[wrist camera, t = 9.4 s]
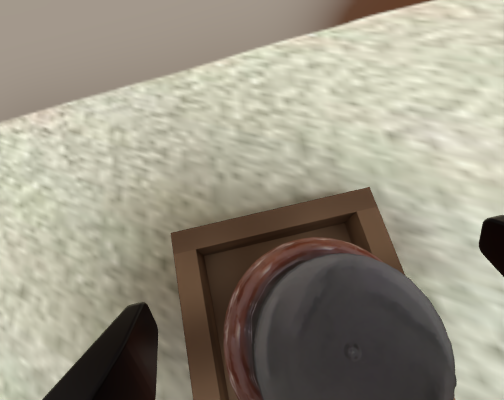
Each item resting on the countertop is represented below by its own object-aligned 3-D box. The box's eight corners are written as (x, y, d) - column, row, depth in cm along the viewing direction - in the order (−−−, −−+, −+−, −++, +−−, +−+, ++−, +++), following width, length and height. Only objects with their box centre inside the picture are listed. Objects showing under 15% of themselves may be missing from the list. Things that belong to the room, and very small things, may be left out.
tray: (427, 401, 15) (465, 424, 12) (217, 458, 15) (206, 495, 12) (353, 204, 19) (369, 187, 16) (184, 243, 19) (170, 233, 16)
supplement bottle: (227, 362, 16) (153, 491, 5) (253, 255, 18) (240, 182, 7) (338, 394, 15) (525, 621, 4) (352, 279, 17) (507, 239, 6)
